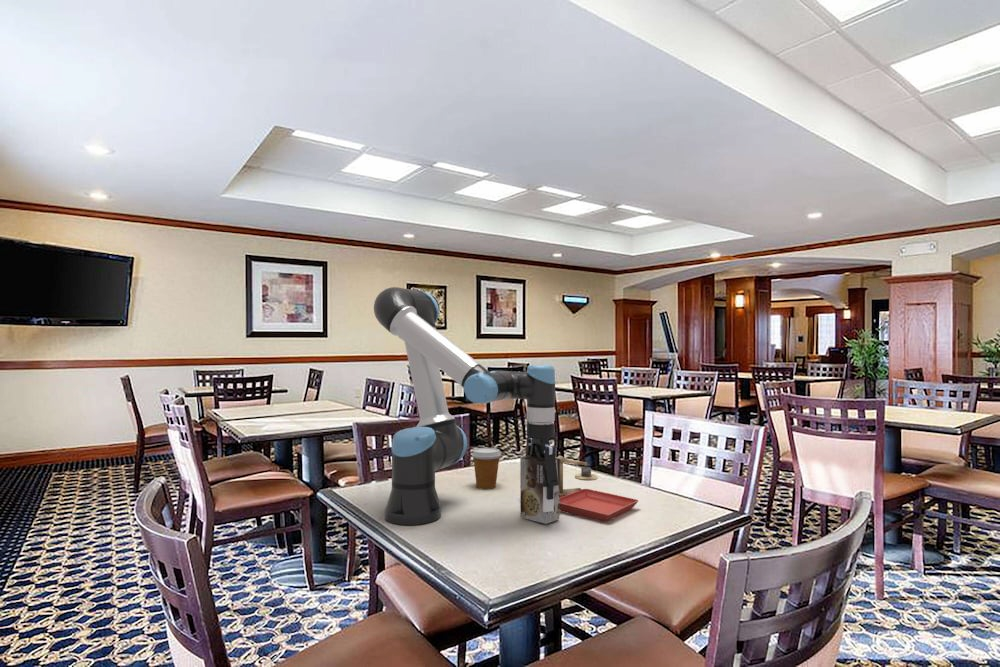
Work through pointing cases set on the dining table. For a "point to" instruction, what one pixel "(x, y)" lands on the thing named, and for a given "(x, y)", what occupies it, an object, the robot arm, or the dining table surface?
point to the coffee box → (536, 491)
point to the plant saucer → (596, 504)
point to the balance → (584, 475)
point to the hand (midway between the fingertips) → (539, 505)
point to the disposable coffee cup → (486, 466)
